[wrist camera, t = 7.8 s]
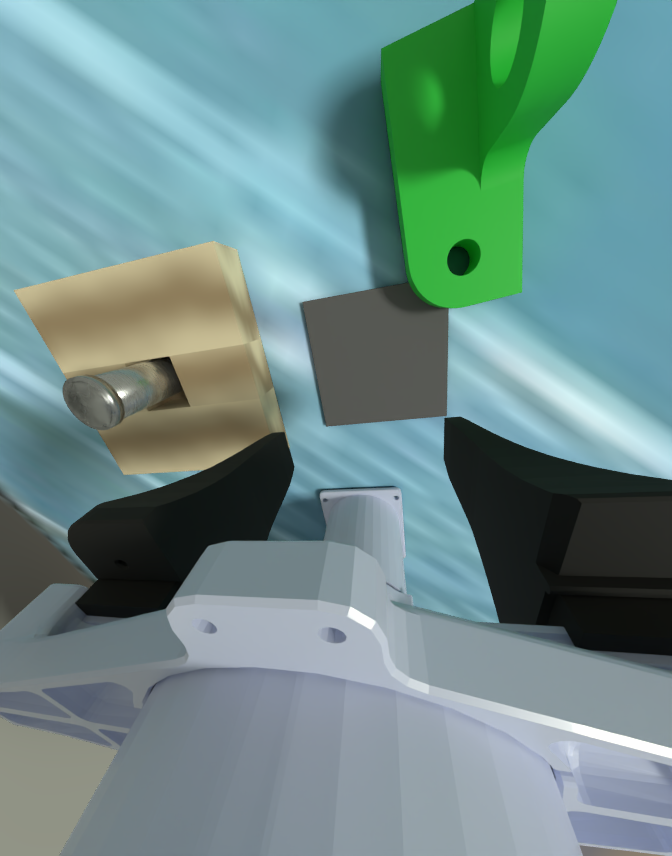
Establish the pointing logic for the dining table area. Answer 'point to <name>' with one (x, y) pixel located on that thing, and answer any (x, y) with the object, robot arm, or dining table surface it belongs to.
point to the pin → (120, 392)
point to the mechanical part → (477, 133)
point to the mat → (379, 355)
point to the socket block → (167, 352)
